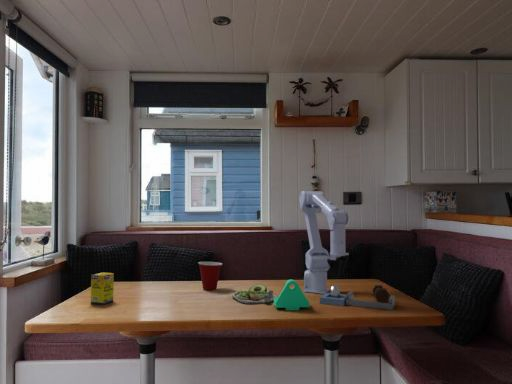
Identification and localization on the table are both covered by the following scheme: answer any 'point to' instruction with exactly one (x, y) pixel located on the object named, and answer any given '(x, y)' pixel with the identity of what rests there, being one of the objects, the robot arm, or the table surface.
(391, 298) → the mount bracket
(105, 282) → the supplement box
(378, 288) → the bolt
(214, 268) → the plastic cup
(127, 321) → the table surface
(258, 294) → the salad plate
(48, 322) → the table surface
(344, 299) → the socket
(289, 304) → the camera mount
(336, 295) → the grey metal cylinder
